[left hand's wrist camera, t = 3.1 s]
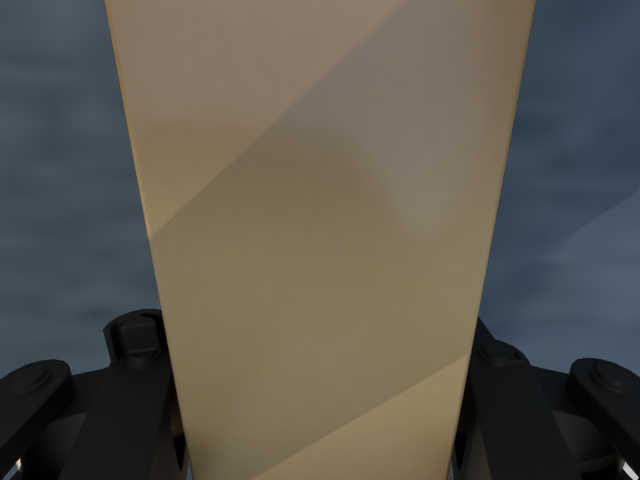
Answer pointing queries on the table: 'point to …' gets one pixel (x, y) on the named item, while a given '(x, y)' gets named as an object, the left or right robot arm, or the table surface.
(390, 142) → the pine batten
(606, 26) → the table surface
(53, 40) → the table surface
